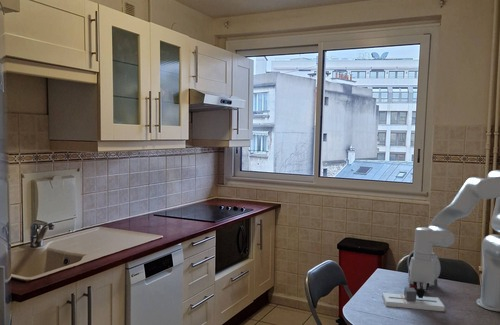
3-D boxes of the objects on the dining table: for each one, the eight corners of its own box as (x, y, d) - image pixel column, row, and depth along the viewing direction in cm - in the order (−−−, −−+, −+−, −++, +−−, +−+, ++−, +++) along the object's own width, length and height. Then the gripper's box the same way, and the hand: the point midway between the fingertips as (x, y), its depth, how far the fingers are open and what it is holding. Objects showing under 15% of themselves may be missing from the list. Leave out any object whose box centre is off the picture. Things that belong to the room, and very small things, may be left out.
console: (437, 302, 185) (438, 297, 185) (444, 311, 176) (444, 306, 175) (382, 297, 189) (382, 292, 189) (385, 305, 180) (385, 301, 179)
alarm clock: (402, 279, 214) (404, 244, 212) (416, 276, 218) (418, 242, 217) (429, 290, 199) (431, 253, 198) (443, 287, 204) (445, 250, 203)
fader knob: (413, 296, 185) (413, 287, 184) (416, 301, 180) (416, 292, 179) (404, 295, 185) (404, 287, 185) (406, 300, 180) (406, 291, 180)
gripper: (438, 255, 183) (435, 295, 184) (403, 252, 185) (400, 292, 187) (443, 260, 176) (440, 302, 177) (406, 257, 178) (404, 298, 179)
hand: (420, 296), depth 182 cm, fingers closed
